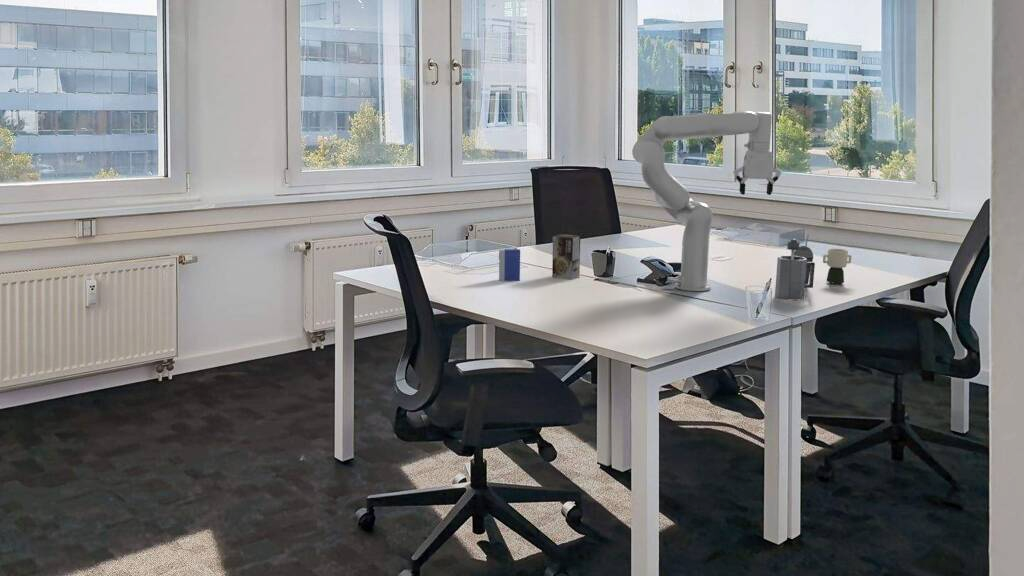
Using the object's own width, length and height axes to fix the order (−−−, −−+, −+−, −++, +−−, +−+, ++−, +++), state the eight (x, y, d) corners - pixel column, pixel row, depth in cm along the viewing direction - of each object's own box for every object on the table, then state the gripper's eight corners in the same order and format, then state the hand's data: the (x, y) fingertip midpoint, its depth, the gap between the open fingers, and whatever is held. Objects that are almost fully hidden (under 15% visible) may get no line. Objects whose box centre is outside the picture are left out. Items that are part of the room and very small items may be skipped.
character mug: (845, 281, 352) (848, 248, 350) (852, 285, 345) (855, 251, 343) (817, 281, 352) (820, 248, 349) (824, 285, 345) (827, 251, 342)
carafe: (780, 299, 318) (783, 260, 315) (772, 294, 327) (774, 255, 325) (816, 300, 319) (819, 260, 316) (806, 294, 328) (809, 255, 325)
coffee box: (580, 277, 354) (581, 235, 350) (572, 279, 348) (573, 237, 345) (559, 274, 358) (560, 233, 355) (551, 277, 353) (552, 235, 350)
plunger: (783, 296, 320) (787, 240, 316) (777, 292, 326) (781, 237, 322) (801, 296, 320) (806, 240, 316) (795, 293, 326) (799, 237, 322)
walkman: (519, 279, 347) (519, 248, 345) (519, 280, 345) (520, 249, 342) (498, 279, 347) (498, 248, 344) (498, 280, 344) (499, 249, 342)
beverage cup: (795, 284, 345) (799, 232, 341) (814, 287, 340) (818, 234, 336) (787, 287, 339) (791, 234, 335) (806, 290, 335) (810, 236, 331)
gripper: (738, 147, 326) (735, 195, 329) (786, 147, 327) (782, 195, 330) (732, 146, 333) (729, 193, 337) (779, 146, 334) (775, 193, 337)
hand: (755, 194), depth 333 cm, fingers open, 9 cm apart
